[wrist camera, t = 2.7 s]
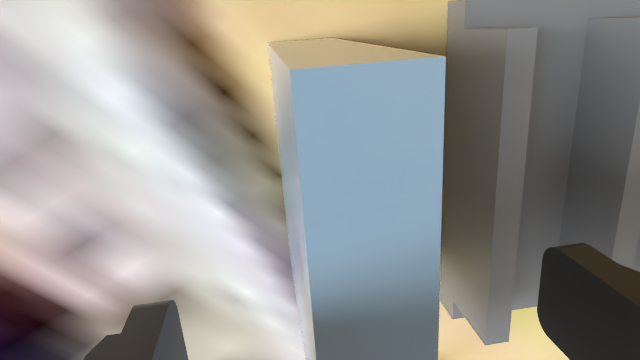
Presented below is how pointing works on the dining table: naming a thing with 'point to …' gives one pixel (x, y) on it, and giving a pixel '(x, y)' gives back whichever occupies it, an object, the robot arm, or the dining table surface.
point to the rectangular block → (362, 194)
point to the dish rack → (536, 147)
